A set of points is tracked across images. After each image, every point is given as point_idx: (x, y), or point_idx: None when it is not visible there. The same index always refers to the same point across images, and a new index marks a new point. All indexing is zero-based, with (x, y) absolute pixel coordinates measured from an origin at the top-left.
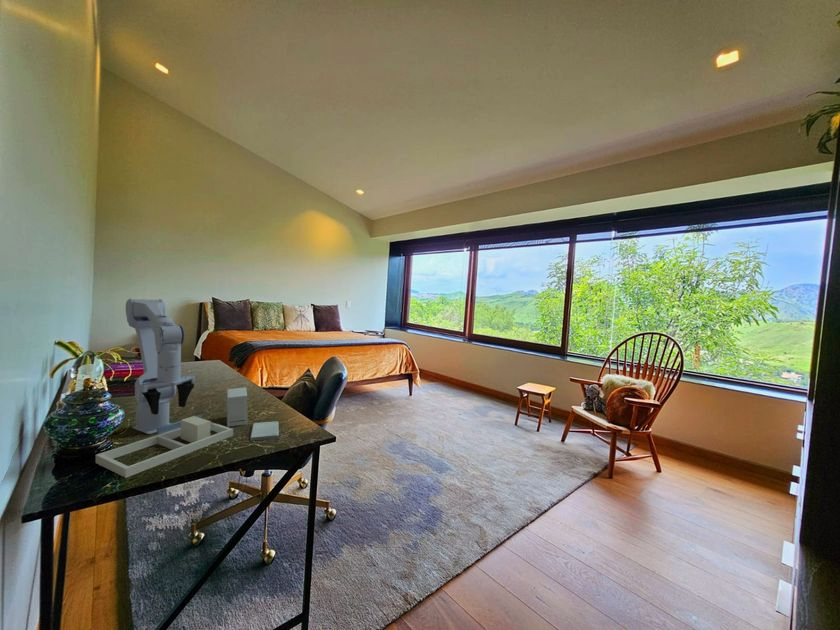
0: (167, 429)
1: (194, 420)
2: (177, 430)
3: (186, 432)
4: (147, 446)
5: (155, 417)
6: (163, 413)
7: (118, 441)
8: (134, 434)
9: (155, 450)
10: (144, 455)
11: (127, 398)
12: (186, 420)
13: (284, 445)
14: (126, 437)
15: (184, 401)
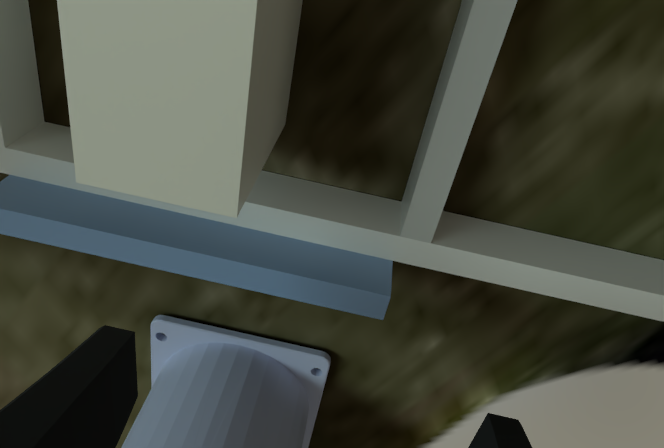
0: (320, 257)
1: (161, 53)
2: (258, 201)
3: (280, 62)
4: (501, 225)
5: (254, 445)
6: (193, 444)
7: (465, 416)
8: (356, 414)
9: (544, 120)
10: (652, 123)
11: None
12: (213, 150)
13: None
14: (405, 419)
15: (69, 397)
